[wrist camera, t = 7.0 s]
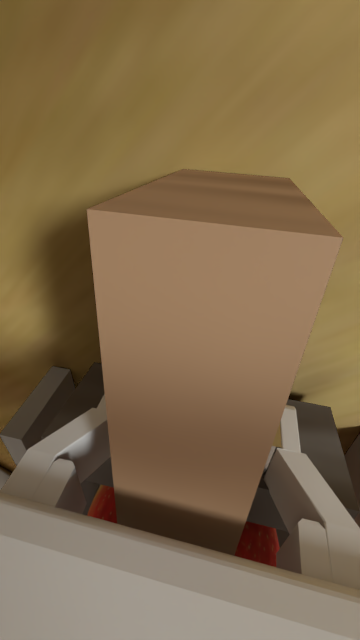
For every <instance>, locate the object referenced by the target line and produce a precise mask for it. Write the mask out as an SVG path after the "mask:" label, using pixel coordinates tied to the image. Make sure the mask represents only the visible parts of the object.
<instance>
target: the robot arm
mask: <svg viewBox="0 0 360 640" xmlns="http://www.w3.org/2000/svg"><path fill="white" fill-rule="evenodd" d="M110 456H111V454H110V443H109V433H108V423H107V413H106V402H105V394H104V396H103V397H102V399H101V401H100V403H99V405H98V407H97V408H91V409H90V410H88V411H87V412H85V413H84V414H82V415H80V416H79V417H77V418H76V419H74V420H73V421H71V422H70V423H68V424H66V425H65V426H63V427H62V428H60V429H59V430H57V431H56V432H54V433H52V434H51V435H49V436H48V437H46V438H45V439H43V440H41V441H40V442H38V443H37V444H35V445H34V446H32V447H31V448H29V449H28V450H27V452H26V453H25V455H24V456H23V458H22V459H21V461H20V462H19V464H18V465H17V467H16V468H15V470H14V471H13V472H12V474H11V475H10V477H9V478H8V480H7V481H6V483H5V485H4V486H3V488H2V489H1V490H0V640H360V528H359V527H358V525H357V524H356V522H355V521H354V520H353V518H352V517H351V516H350V514H349V513H348V511H347V510H346V509H345V507H344V506H343V505H342V503H341V502H340V500H339V499H338V498H337V496H336V495H335V494H334V492H333V491H332V489H331V488H330V487H329V485H328V484H327V483H326V481H325V480H324V478H323V477H322V476H321V474H320V473H319V472H318V470H317V469H316V467H315V466H314V465H313V463H312V462H311V461H310V459H309V458H308V456H307V455H306V454H304V453H301V450H300V441H299V432H298V424H297V415H296V409H295V407H294V406H289V405H286V406H285V409H284V412H283V415H282V418H281V421H280V424H279V427H278V430H277V432H276V435H275V438H274V441H273V444H272V447H271V450H270V453H269V456H268V459H267V462H266V464H265V467H264V470H263V473H262V476H261V478H264V481H265V483H266V485H267V487H268V488H269V493H270V495H271V497H272V499H273V501H274V503H275V505H276V507H277V509H278V511H279V513H280V515H281V517H282V519H283V522H284V524H285V526H286V528H287V530H288V532H289V534H290V535H289V536H288V538H287V539H286V541H285V542H284V543H283V545H282V546H281V548H280V549H279V551H278V552H277V553H276V567H273V566H270V565H266V564H262V563H259V562H255V561H251V560H248V559H244V558H240V557H237V556H233V555H229V554H226V553H222V552H219V551H215V550H211V549H208V548H204V547H200V546H197V545H193V544H189V543H186V542H182V541H178V540H175V539H171V538H167V537H164V536H160V535H156V534H153V533H149V532H145V531H142V530H138V529H135V528H131V527H127V526H124V525H120V524H116V523H113V522H109V521H105V520H102V519H98V518H94V517H91V516H87V515H83V511H84V509H85V506H86V504H87V503H86V500H85V497H84V494H83V490H82V487H81V483H82V482H83V481H84V480H85V479H86V478H87V477H89V476H90V475H91V474H92V473H93V472H94V471H95V470H96V469H97V468H98V467H100V466H101V465H102V464H103V463H104V462H105V461H106V460H107V459H108V458H109V457H110Z"/></svg>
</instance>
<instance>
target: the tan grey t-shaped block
mask: <svg viewBox="0 0 360 640" xmlns="http://www.w3.org/2000/svg"><path fill="white" fill-rule="evenodd" d="M87 217H88V228H89V238H90V248H91V258H92V269H93V279H94V289H95V299H96V310H97V320H98V330H99V341H100V351H101V361H102V364H100V363H95V362H94V364H93V365H92V366H91V368H90V369H89V371H88V372H87V373H86V375H85V376H84V377H83V379H82V380H81V382H80V383H79V384H78V386H77V387H76V389H75V390H74V391H73V393H72V394H71V396H70V397H69V398H68V400H67V401H66V403H65V404H64V405H63V407H62V408H61V410H60V411H59V412H58V414H57V415H56V417H55V418H54V419H53V421H52V422H51V423H50V425H49V426H48V428H47V429H46V430H45V432H44V433H43V435H42V436H41V438H42V440H43V439H45V438H46V437H48V436H49V435H51V434H52V433H54V432H56V431H57V430H59V429H60V428H62V427H63V426H65V425H66V424H68V423H70V422H71V421H73V420H74V419H76V418H77V417H79V416H80V415H82V414H84V413H85V412H87V411H88V410H90V409H91V408H97V407H98V405H99V403H100V401H101V399H102V397H103V396H104V394H105V402H106V413H107V423H108V433H109V443H110V454H111V456H110V457H109V458H108V459H107V460H106V461H105V462H104V463H103V464H102V465H101V466H100V467H98V468H97V469H96V470H95V471H94V472H93V473H92V474H91V475H90V476H89V477H87V478H86V479H85V481H89V482H93V483H97V484H101V485H105V486H109V487H113V488H114V495H115V505H116V515H117V524H120V525H124V526H127V527H131V528H135V529H138V530H142V531H145V532H149V533H153V534H156V535H160V536H164V537H167V538H171V539H175V540H178V541H182V542H186V543H189V544H193V545H197V546H200V547H204V548H208V549H211V550H215V551H219V552H222V553H226V554H229V555H233V556H234V555H235V552H236V549H237V546H238V543H239V540H240V537H241V534H242V531H243V529H244V526H245V523H246V521H248V522H252V523H256V524H260V525H264V526H268V527H272V528H276V529H280V530H284V531H288V530H287V528H286V526H285V524H284V522H283V519H282V517H281V515H280V513H279V511H278V509H277V507H276V505H275V503H274V501H273V499H272V497H271V495H270V493H269V488H268V487H267V485H266V483H265V481H264V478H261V476H262V473H263V470H264V467H265V464H266V462H267V459H268V456H269V453H270V450H271V447H272V444H273V441H274V438H275V435H276V432H277V430H278V427H279V424H280V421H281V418H282V415H283V412H284V409H285V406H286V405H289V406H294V407H295V409H296V415H297V424H298V432H299V441H300V450H301V453H304V454H306V455H307V456H308V458H309V459H310V461H311V462H312V463H313V465H314V466H315V467H316V469H317V470H318V472H319V473H320V474H321V476H322V477H323V478H324V480H325V481H326V483H327V484H328V485H329V487H330V488H331V489H332V491H333V492H334V494H335V495H336V496H337V498H338V499H339V500H340V502H341V503H342V505H343V506H344V507H345V509H346V510H347V511H348V513H349V514H350V516H351V517H352V518H353V520H354V519H355V517H356V516H357V515H358V513H359V512H360V510H359V507H358V503H357V499H356V496H355V492H354V489H353V485H352V482H351V478H350V475H349V471H348V468H347V464H346V461H345V457H344V454H343V450H342V447H341V443H340V440H339V436H338V433H337V429H336V426H335V422H334V419H333V415H332V411H331V408H330V407H327V406H321V405H316V404H311V403H306V402H300V401H295V400H290V399H288V398H289V395H290V392H291V389H292V386H293V383H294V380H295V377H296V374H297V371H298V368H299V365H300V363H301V360H302V357H303V354H304V351H305V348H306V345H307V342H308V339H309V336H310V333H311V331H312V328H313V325H314V322H315V319H316V316H317V313H318V310H319V307H320V304H321V301H322V299H323V296H324V293H325V290H326V287H327V284H328V281H329V278H330V275H331V272H332V269H333V266H334V264H335V261H336V258H337V255H338V252H339V249H340V246H341V243H342V240H343V237H342V236H341V235H340V234H339V232H338V231H337V230H336V229H335V228H334V227H333V226H332V225H331V224H330V223H329V221H328V220H327V219H326V218H325V217H324V216H323V215H322V214H321V213H320V211H319V210H318V209H317V208H316V207H315V206H314V205H313V204H312V203H311V202H310V200H309V199H308V198H307V197H306V196H305V195H304V194H303V193H302V192H301V191H300V189H299V188H298V187H297V186H296V185H295V184H294V183H293V182H292V181H291V180H290V178H279V177H268V176H256V175H245V174H233V173H222V172H210V171H199V170H187V169H182V170H180V171H177V172H175V173H172V174H170V175H168V176H165V177H163V178H160V179H158V180H156V181H153V182H151V183H148V184H146V185H144V186H141V187H139V188H136V189H134V190H132V191H129V192H127V193H124V194H122V195H119V196H117V197H115V198H112V199H110V200H107V201H105V202H103V203H100V204H98V205H95V206H93V207H91V208H88V209H87Z"/></svg>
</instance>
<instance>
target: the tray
mask: <svg viewBox="0 0 360 640" xmlns="http://www.w3.org/2000/svg"><path fill="white" fill-rule="evenodd" d="M74 390H75V386H74V382H73V378H72V375H71V371H70V369H64V368H59V367H54V366H52V367H51V368H50V370H49V371H48V372H47V373H46V375H45V376H44V377H43V379H42V380H41V381H40V383H39V384H38V385H37V386H36V388H35V389H34V390H33V392H32V393H31V394H30V395H29V397H28V398H27V399H26V401H25V402H24V403H23V404H22V406H21V407H20V408H19V410H18V411H17V412H16V413H15V415H14V416H13V417H12V419H11V420H10V421H9V423H8V424H7V425H6V426H5V428H4V429H3V430H2V432H1V433H0V437H1V439H2V441H3V442H4V444H5V446H6V448H7V450H8V451H9V453H10V455H11V457H12V458H13V460H14V462H15V464H16V466H17V465H18V464H19V462H20V461H21V459H22V458H23V456H24V455H25V453H26V452H27V450H28V449H29V448H31V447H32V446H34V445H35V444H37V443H38V442H40V441H41V440H42V438H41V436H42V435H43V433H44V432H45V430H46V429H47V428H48V426H49V425H50V423H51V422H52V421H53V419H54V418H55V417H56V415H57V414H58V412H59V411H60V410H61V408H62V407H63V405H64V404H65V403H66V401H67V400H68V398H69V397H70V396H71V394H72V393H73V391H74ZM344 457H345V461H346V464H347V468H348V471H349V475H350V478H351V482H352V485H353V489H354V492H355V496H356V499H357V503H358V507H359V510H360V433H359V435H358V436H357V438H356V439H355V441H354V442H353V444H352V445H351V447H350V448H349V450H348V451H347V453H346V454H345V456H344ZM100 485H101V484H97V483H93V482H89V481H85V480H84V481H83V482H82V483H81V487H82V490H83V494H84V497H85V500H86V503H87V504H86V506H85V509H84V511H83V515H88V511H89V509H90V506H91V504H92V501H93V499H94V497H95V495H96V493H97V491H98V489H99V487H100ZM354 521H355V522H356V524H357V525H358V527H359V528H360V512H359V513H358V515H357V516H356V517H355V519H354ZM276 533H277V537H278V542H279V547H280V548H281V546H282V545H283V543H284V542H285V541H286V539H287V538H288V536H289V535H290V534H289V532H288V531H284V530H280V529H276Z"/></svg>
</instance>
